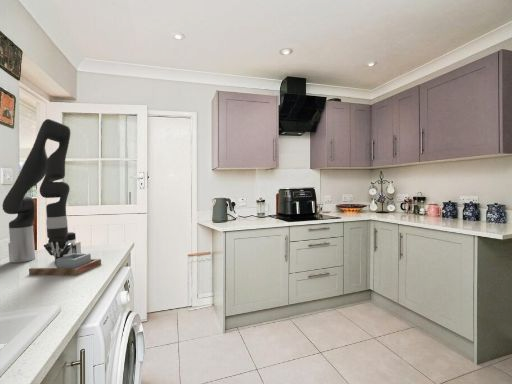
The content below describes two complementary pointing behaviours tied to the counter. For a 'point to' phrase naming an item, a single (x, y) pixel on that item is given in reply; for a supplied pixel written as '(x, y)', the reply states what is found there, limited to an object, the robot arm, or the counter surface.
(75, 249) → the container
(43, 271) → the bay
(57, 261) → the box
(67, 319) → the counter surface
